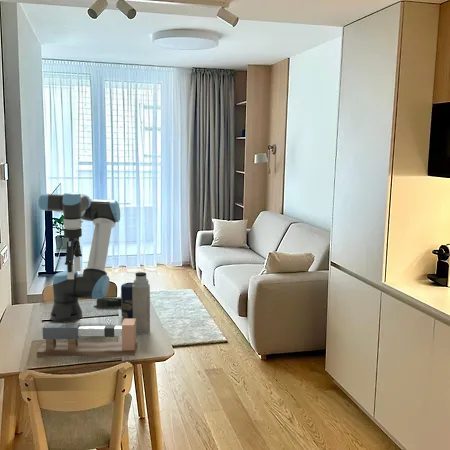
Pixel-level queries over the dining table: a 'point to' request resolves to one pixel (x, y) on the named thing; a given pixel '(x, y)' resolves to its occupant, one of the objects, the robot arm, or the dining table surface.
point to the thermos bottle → (141, 303)
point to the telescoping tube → (100, 330)
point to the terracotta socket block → (128, 334)
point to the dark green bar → (108, 302)
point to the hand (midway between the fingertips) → (74, 274)
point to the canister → (127, 301)
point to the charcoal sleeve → (60, 331)
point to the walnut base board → (83, 349)
